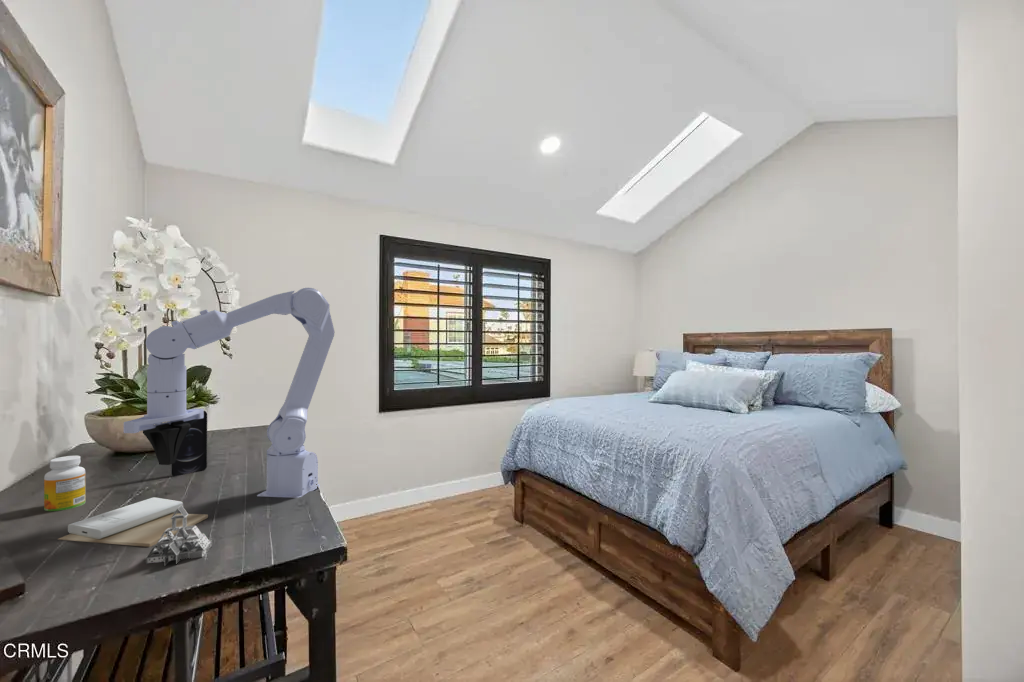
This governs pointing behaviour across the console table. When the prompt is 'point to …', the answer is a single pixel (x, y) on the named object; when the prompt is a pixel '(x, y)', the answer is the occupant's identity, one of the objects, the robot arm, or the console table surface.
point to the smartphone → (192, 449)
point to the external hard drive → (124, 518)
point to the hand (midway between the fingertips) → (167, 463)
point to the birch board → (142, 531)
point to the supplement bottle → (64, 484)
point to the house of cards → (179, 543)
